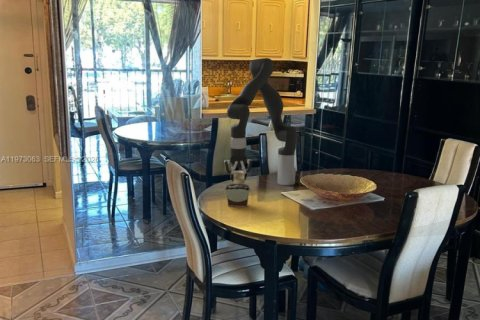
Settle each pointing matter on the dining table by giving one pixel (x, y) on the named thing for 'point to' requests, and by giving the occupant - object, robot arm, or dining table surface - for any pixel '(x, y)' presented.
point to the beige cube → (238, 177)
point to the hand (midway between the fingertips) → (238, 180)
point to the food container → (237, 194)
